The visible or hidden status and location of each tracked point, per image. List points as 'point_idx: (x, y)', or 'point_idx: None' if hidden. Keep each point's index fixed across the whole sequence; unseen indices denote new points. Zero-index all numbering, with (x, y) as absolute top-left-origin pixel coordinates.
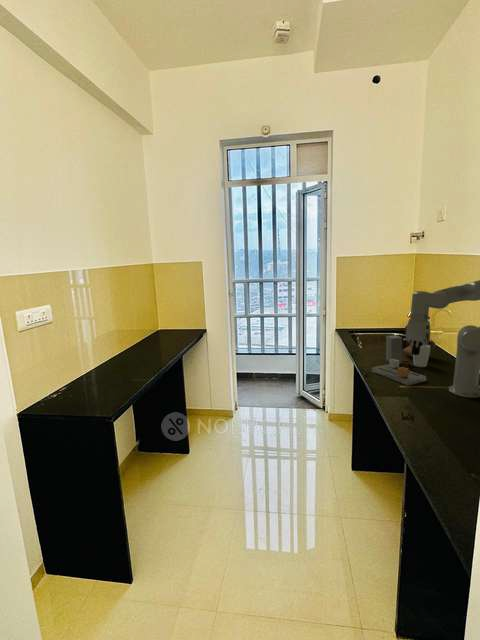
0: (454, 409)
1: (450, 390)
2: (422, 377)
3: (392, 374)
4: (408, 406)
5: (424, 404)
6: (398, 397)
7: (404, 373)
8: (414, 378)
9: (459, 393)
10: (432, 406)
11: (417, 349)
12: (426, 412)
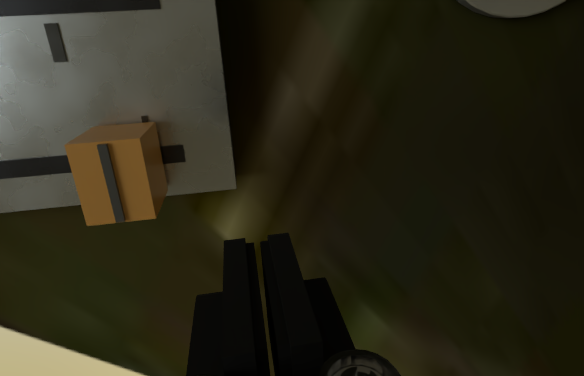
0: (575, 215)
1: (468, 4)
2: (214, 3)
3: (61, 199)
4: (436, 368)
5: (464, 295)
6: None
7: (158, 182)
8: (214, 105)
9: (537, 10)
10: (497, 279)
11: None
12: (511, 343)
